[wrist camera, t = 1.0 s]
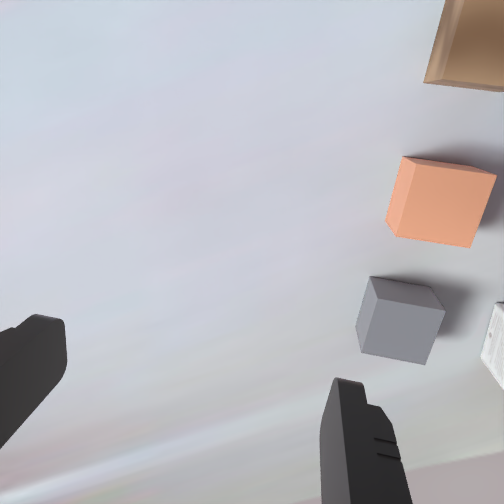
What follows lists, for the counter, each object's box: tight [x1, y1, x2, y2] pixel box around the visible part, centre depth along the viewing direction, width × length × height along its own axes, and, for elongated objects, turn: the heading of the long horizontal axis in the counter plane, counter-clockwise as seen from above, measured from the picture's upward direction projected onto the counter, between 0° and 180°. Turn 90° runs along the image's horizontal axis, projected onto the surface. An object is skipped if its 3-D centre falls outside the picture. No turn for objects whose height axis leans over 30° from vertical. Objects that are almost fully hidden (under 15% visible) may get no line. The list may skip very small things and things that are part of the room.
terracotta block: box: [385, 157, 497, 248], centre depth 26 cm, size 5×5×4 cm
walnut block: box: [423, 0, 504, 92], centre depth 23 cm, size 5×5×4 cm
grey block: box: [356, 277, 446, 365], centre depth 30 cm, size 5×5×4 cm
